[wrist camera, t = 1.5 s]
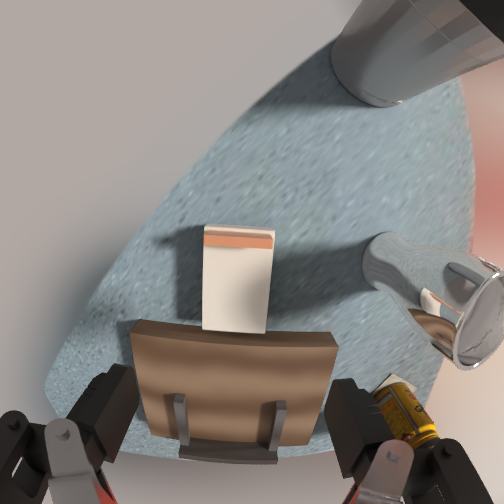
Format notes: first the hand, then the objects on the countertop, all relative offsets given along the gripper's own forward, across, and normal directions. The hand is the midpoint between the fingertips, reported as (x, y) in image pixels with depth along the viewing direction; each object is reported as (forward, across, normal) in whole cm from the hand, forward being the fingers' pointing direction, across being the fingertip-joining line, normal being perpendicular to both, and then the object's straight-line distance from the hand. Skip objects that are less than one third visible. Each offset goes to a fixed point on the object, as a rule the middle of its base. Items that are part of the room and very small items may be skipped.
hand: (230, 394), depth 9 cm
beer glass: (+16, -15, -2) cm, 22 cm away
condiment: (+16, -21, +18) cm, 32 cm away
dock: (+16, 0, +14) cm, 21 cm away
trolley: (+16, 0, 0) cm, 16 cm away
